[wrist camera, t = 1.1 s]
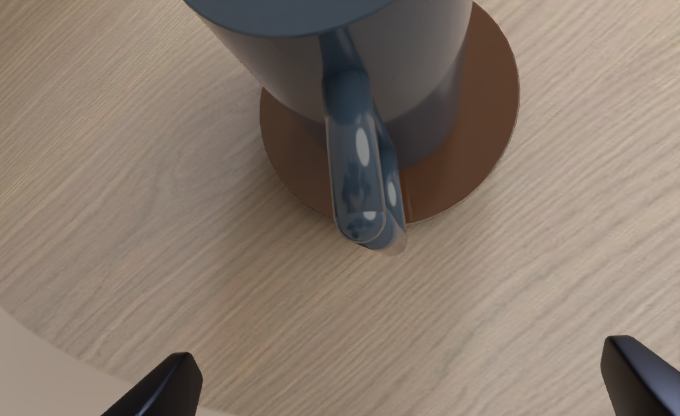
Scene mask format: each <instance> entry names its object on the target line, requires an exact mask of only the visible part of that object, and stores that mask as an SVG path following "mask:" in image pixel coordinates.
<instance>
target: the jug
mask: <svg viewBox="0 0 680 416" xmlns="http://www.w3.org/2000/svg"><path fill="white" fill-rule="evenodd" d="M183 1H184V2H185V3H186V4H187V5H188V6H189V8H190V9H191V10H192V11H193V12H194V13H195V14H196V15H197V16H198V17H199V18H200V19H201V20H202V21H203V23H204V24H205V25H206V26H207V27H208V28H209V29H210V30H211V31H212V32H213V33H214V34H215V35H216V36H217V38H218V39H219V40H220V41H221V42H222V43H223V44H224V45H225V46H226V47H227V48H228V49H229V50H230V51H231V52H232V54H233V55H234V56H235V57H236V58H237V59H238V60H239V61H240V62H241V63H242V64H243V65H244V66H245V67H246V69H247V70H248V71H249V72H250V73H251V74H252V75H253V76H254V77H255V78H256V79H257V80H258V81H259V82H260V84H261V85H262V86H263V88H262V93H261V101H260V125H261V133H262V138H263V142H264V145H265V149H266V152H267V154H268V157H269V159H270V161H271V164H272V166H273V167H274V169H275V171H276V172H277V174H278V176H279V177H280V179H281V180H282V181H283V182H284V183H285V185H286V186H287V187H288V188H289V190H290V191H292V192H293V193H294V194H295V195H296V196H297V197H298V198H299V199H300V200H301V201H303V202H304V203H306V204H307V205H308V206H310V207H311V208H313V209H314V210H316V211H318V212H320V213H322V214H324V215H326V216H328V217H330V218H332V219H334V223H335V226H336V229H337V230H338V232H339V233H340V234H341V235H342V236H343V237H344V238H345V239H347V240H348V241H351V242H353V243H356V244H358V245H361V246H363V247H366V248H368V249H371V250H373V251H376V252H378V253H381V254H384V255H386V256H396V255H399V254H400V253H402V252H403V251H404V249H405V248H406V246H407V241H408V238H407V230H406V226H410V225H415V224H418V223H421V222H425V221H428V220H431V219H433V218H435V217H437V216H439V215H442V214H444V213H446V212H448V211H450V210H451V209H453V208H454V207H456V206H457V205H459V204H460V203H462V202H463V201H465V200H466V199H467V198H468V197H469V196H471V195H472V194H473V193H474V192H475V191H476V190H478V189H479V187H480V186H481V185H482V184H483V183H484V182H485V181H486V180H487V179H488V178H489V176H490V175H491V174H492V172H493V171H494V169H495V168H496V166H497V165H498V163H499V162H500V160H501V158H502V156H503V154H504V152H505V150H506V148H507V146H508V144H509V142H510V140H511V137H512V134H513V131H514V128H515V125H516V122H517V116H518V111H519V105H520V83H519V74H518V69H517V65H516V61H515V57H514V54H513V52H512V50H511V47H510V45H509V43H508V41H507V39H506V37H505V36H504V34H503V32H502V31H501V29H500V28H499V26H498V25H497V24H496V22H495V21H494V20H493V19H492V18H491V17H490V16H489V14H488V13H487V12H486V11H484V10H483V9H482V8H481V7H480V6H479V5H477V4H476V3H475V2H474V1H473V0H183Z"/></svg>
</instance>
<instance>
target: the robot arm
mask: <svg viewBox="0 0 680 416" xmlns="http://www.w3.org/2000/svg"><path fill="white" fill-rule="evenodd" d="M600 366H601V373H602V377H603V379H604V382H605V385H606V388H607V391H608V394H609V397H610V400H611V402H612V405H613V408H614V411H615V414H616V416H680V372H679V371H678V370H676V369H675V368H674V367H672V366H671V365H670V364H668V363H667V362H666V361H664V360H663V359H662V358H660V357H659V356H658V355H656V354H655V353H654V352H652V351H651V350H650V349H648V348H647V347H646V346H644V345H643V344H641V343H640V342H639V341H637V340H636V339H635V338H633V337H631V336H628V335H618V336H608V337H607V338H606V339H605V342H604V347H603V353H602V358H601V364H600ZM202 383H203V378H202V374H201V371H200V369H199V368H198V366H197V364H196V362H195V360H194V358H193V356H192V354H190V353H189V352H177V353H173V354H171V355H170V356H168V357H167V358H166V359H165V360H164V361H163V362H161V363H160V364H159V365H158V366H157V367H156V368H155V369H153V370H152V371H151V372H150V373H149V374H148V375H147V376H145V377H144V378H143V379H142V380H141V381H140V382H139V383H137V384H136V385H135V386H134V387H133V388H132V389H131V390H129V391H128V392H127V393H126V394H125V395H124V396H123V397H122V398H121V399H119V400H118V401H117V402H116V403H115V404H114V405H112V406H111V407H110V408H109V409H108V410H107V411H106V412H104V413H103V414H102V415H101V416H195V413H196V409H197V405H198V401H199V397H200V393H201V388H202Z"/></svg>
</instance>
